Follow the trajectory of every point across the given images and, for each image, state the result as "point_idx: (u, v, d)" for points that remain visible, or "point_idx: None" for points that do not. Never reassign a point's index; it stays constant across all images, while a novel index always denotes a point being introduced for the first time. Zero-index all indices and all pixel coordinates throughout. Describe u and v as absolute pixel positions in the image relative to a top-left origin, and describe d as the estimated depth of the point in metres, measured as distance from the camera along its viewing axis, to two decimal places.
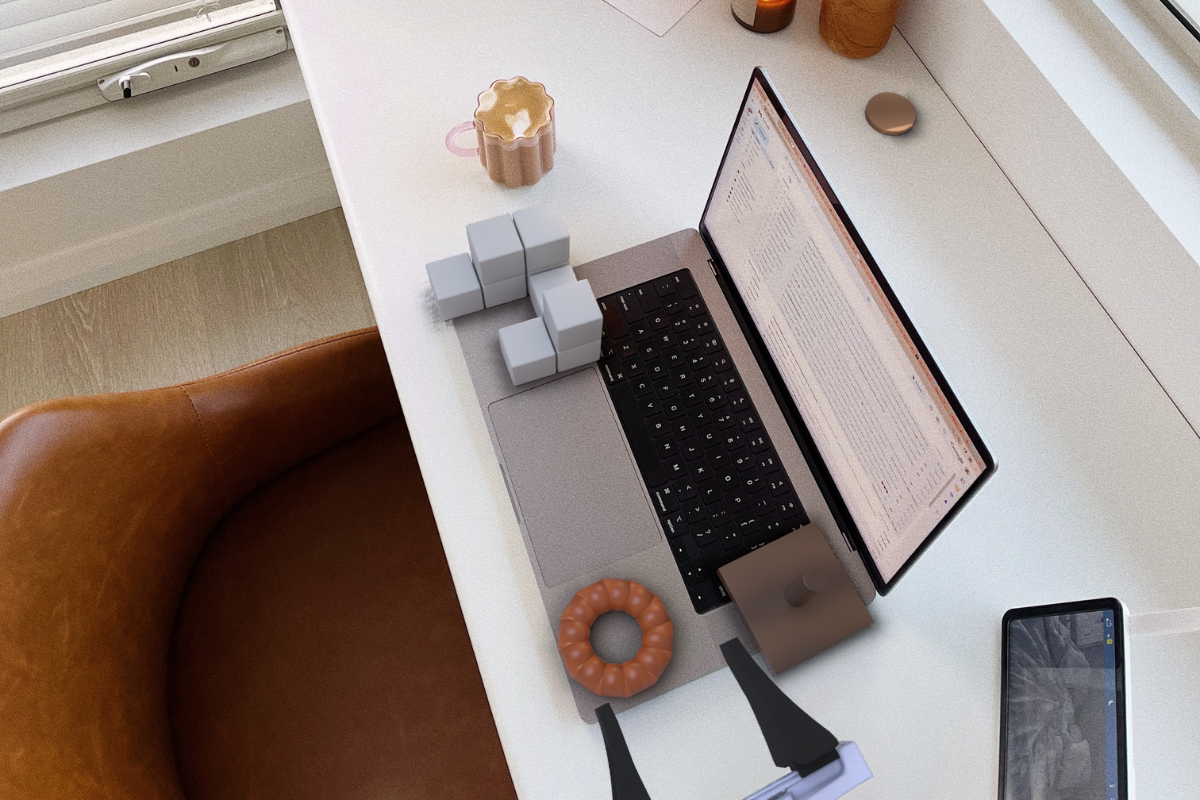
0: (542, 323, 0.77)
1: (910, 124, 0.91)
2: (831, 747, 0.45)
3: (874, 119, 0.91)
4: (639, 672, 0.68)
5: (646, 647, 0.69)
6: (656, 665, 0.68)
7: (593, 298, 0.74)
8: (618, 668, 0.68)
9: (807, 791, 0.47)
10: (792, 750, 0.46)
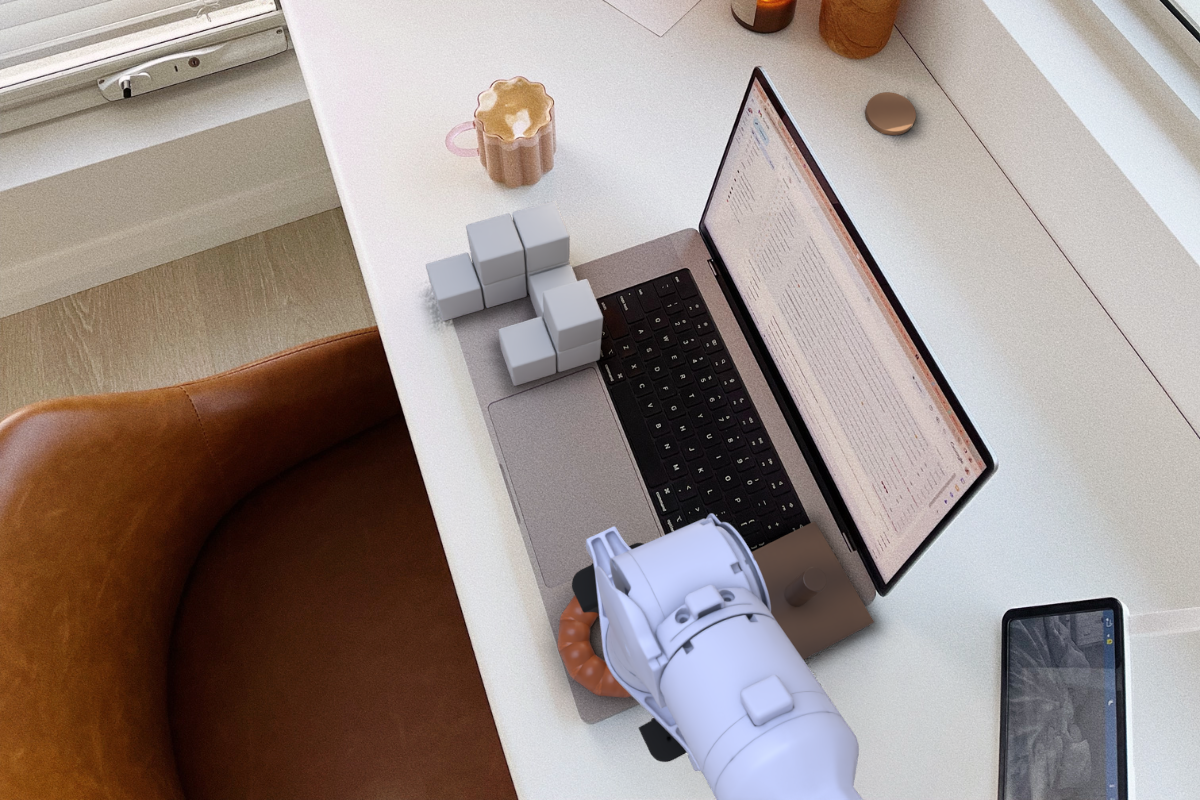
0: (542, 323, 0.77)
1: (910, 124, 0.91)
2: None
3: (874, 119, 0.91)
4: None
5: None
6: None
7: (593, 298, 0.74)
8: None
9: None
10: None
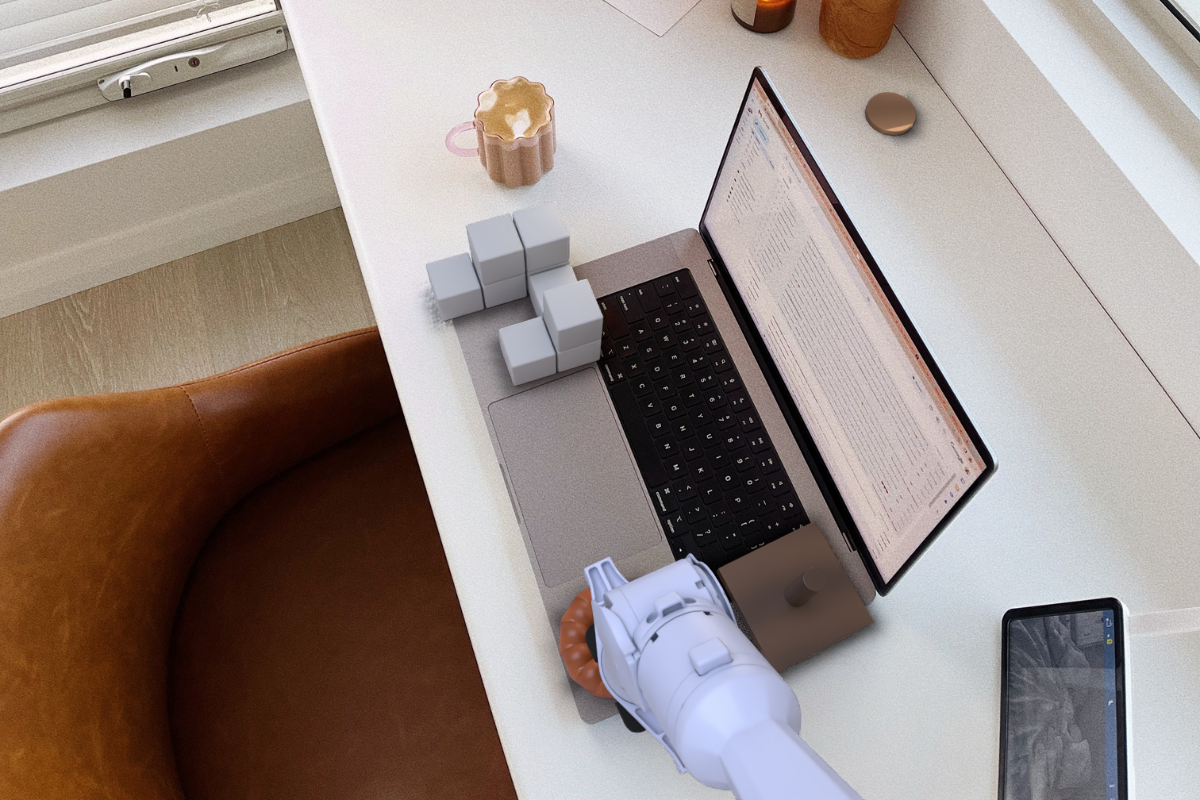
0: (542, 323, 0.77)
1: (910, 124, 0.91)
2: None
3: (874, 119, 0.91)
4: None
5: None
6: None
7: (593, 298, 0.74)
8: None
9: None
10: None
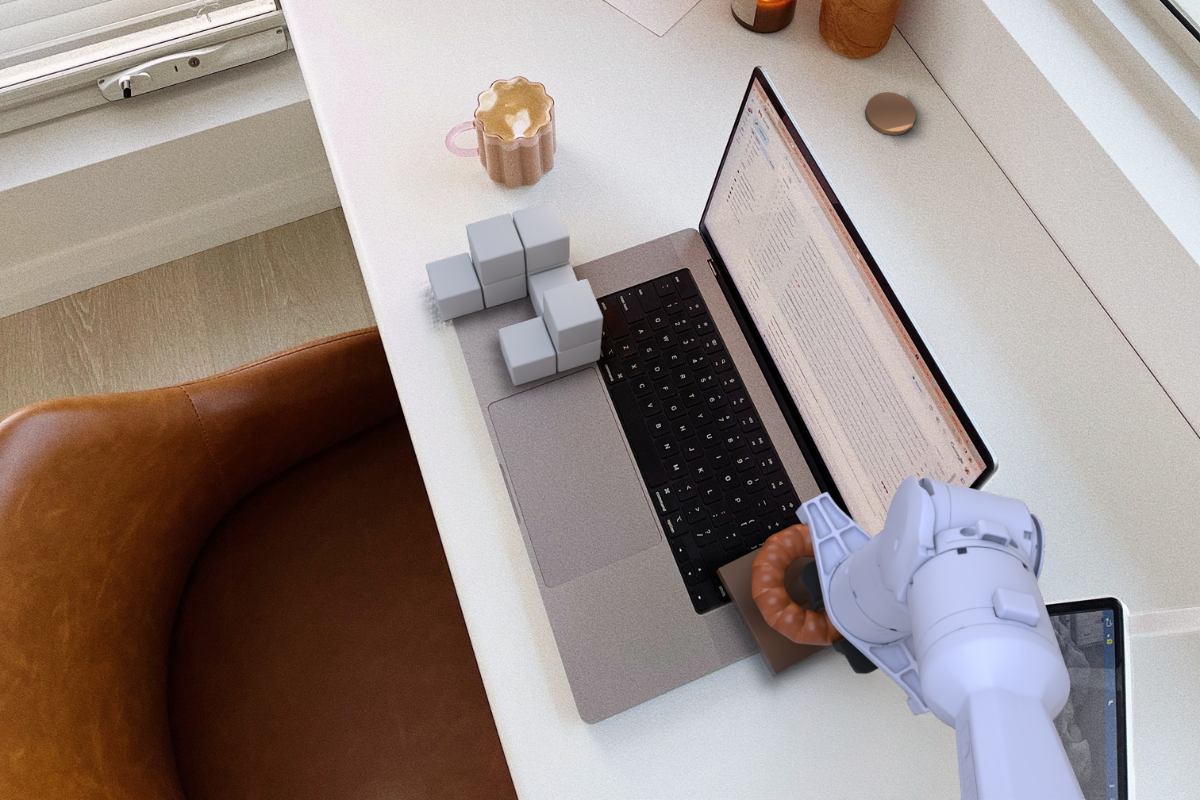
0: (542, 323, 0.77)
1: (910, 124, 0.91)
2: None
3: (874, 119, 0.91)
4: None
5: None
6: None
7: (593, 298, 0.74)
8: (819, 615, 0.65)
9: None
10: None
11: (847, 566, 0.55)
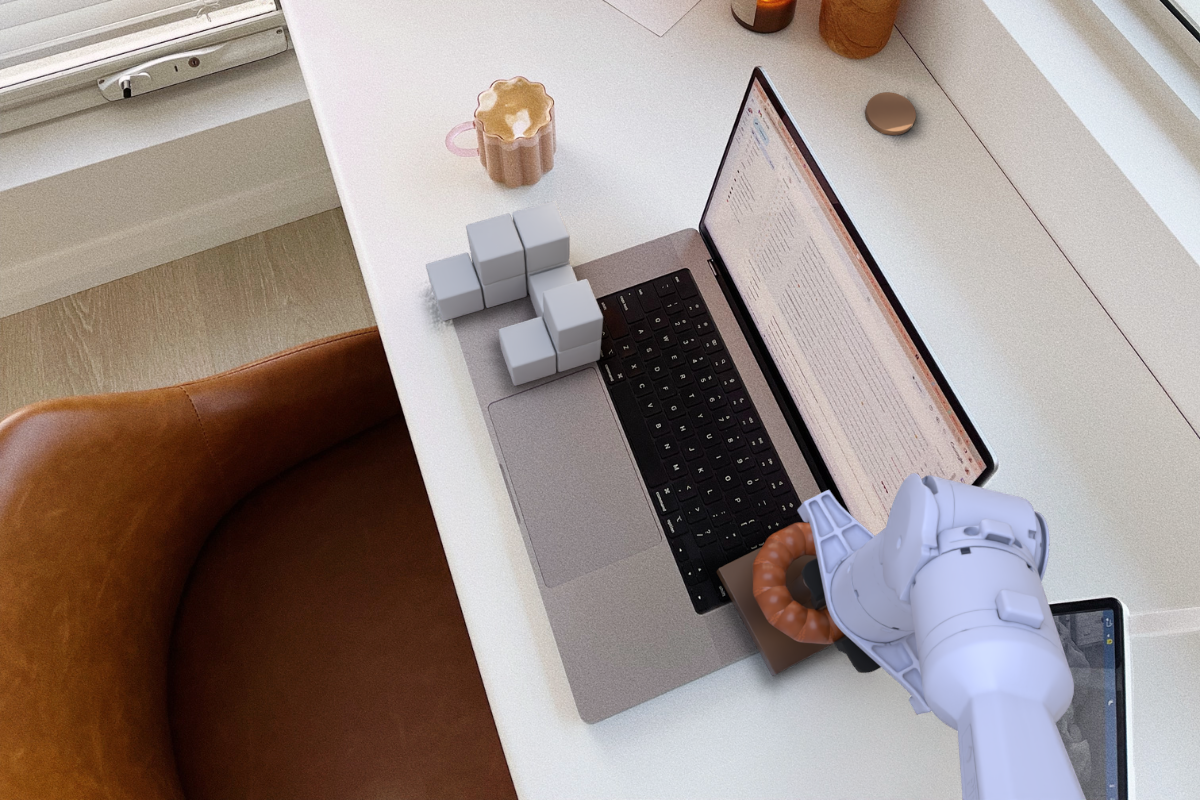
0: (542, 323, 0.77)
1: (910, 124, 0.91)
2: None
3: (874, 119, 0.91)
4: None
5: None
6: None
7: (593, 298, 0.74)
8: (821, 613, 0.65)
9: None
10: None
11: (849, 564, 0.54)
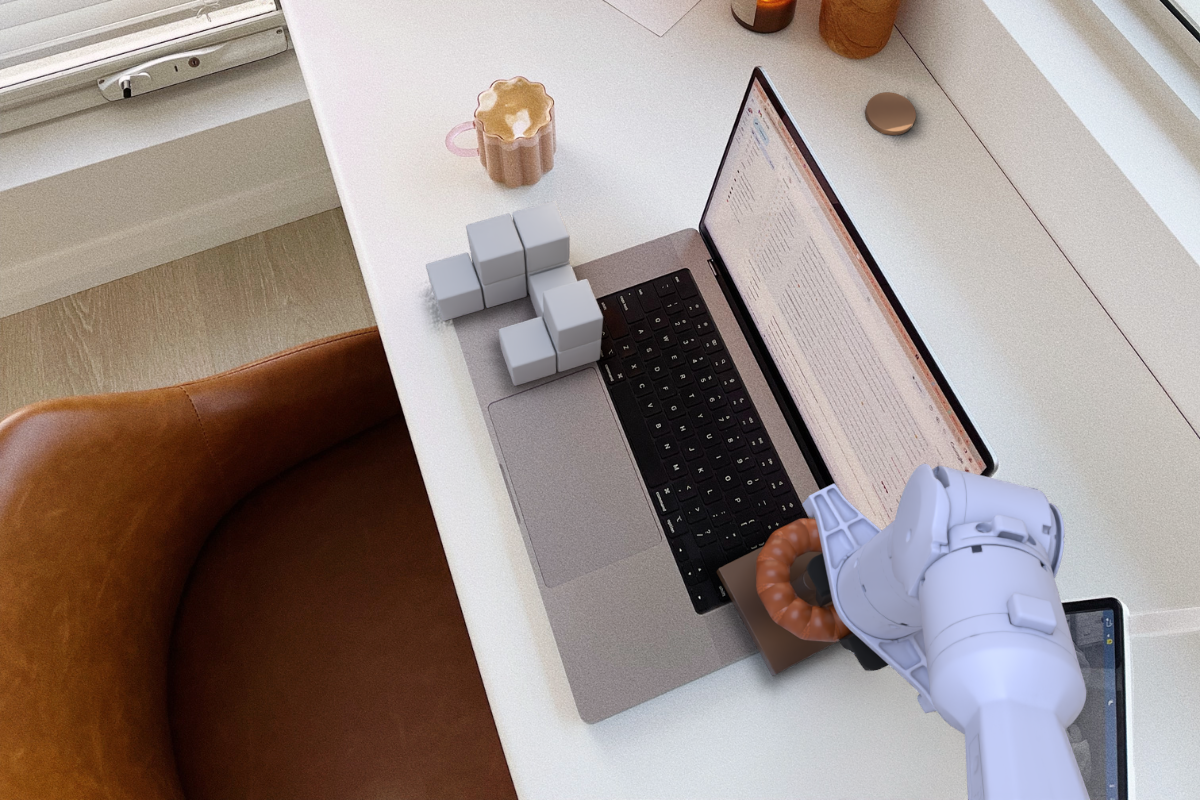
0: (542, 323, 0.77)
1: (910, 124, 0.91)
2: None
3: (874, 119, 0.91)
4: None
5: None
6: None
7: (593, 298, 0.74)
8: (825, 610, 0.64)
9: None
10: None
11: (856, 559, 0.53)
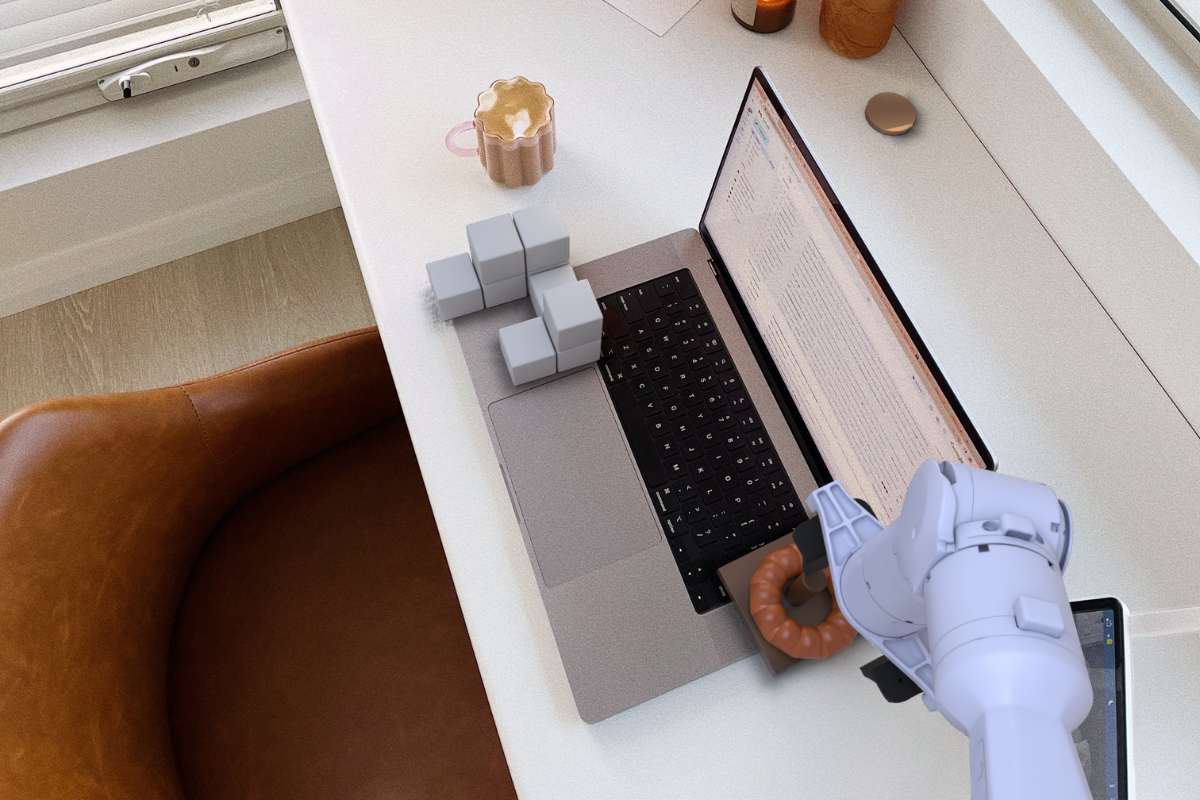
0: (542, 323, 0.77)
1: (910, 124, 0.91)
2: None
3: (874, 119, 0.91)
4: (836, 634, 0.68)
5: (840, 610, 0.69)
6: (852, 627, 0.69)
7: (593, 298, 0.74)
8: (814, 630, 0.69)
9: (924, 646, 0.55)
10: None
11: (860, 556, 0.52)
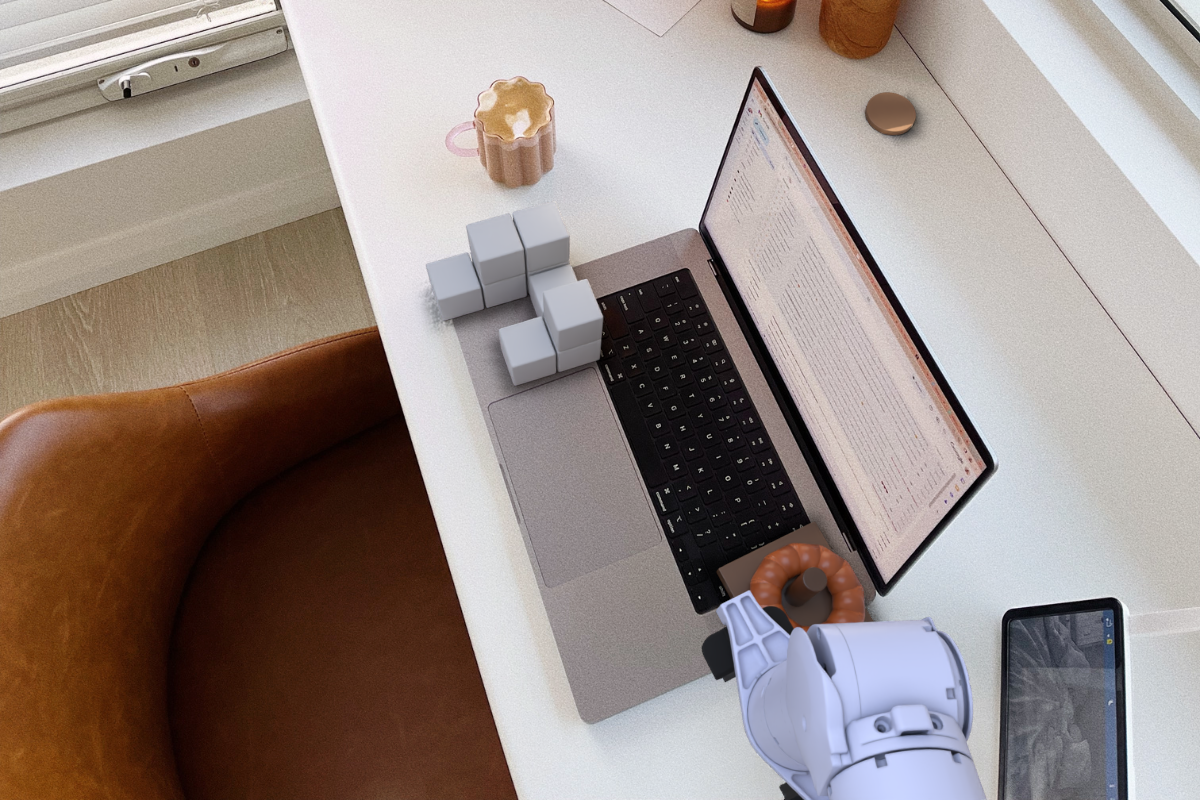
0: (542, 323, 0.77)
1: (910, 124, 0.91)
2: None
3: (874, 119, 0.91)
4: None
5: (840, 610, 0.69)
6: None
7: (593, 298, 0.74)
8: None
9: None
10: None
11: (763, 687, 0.48)
